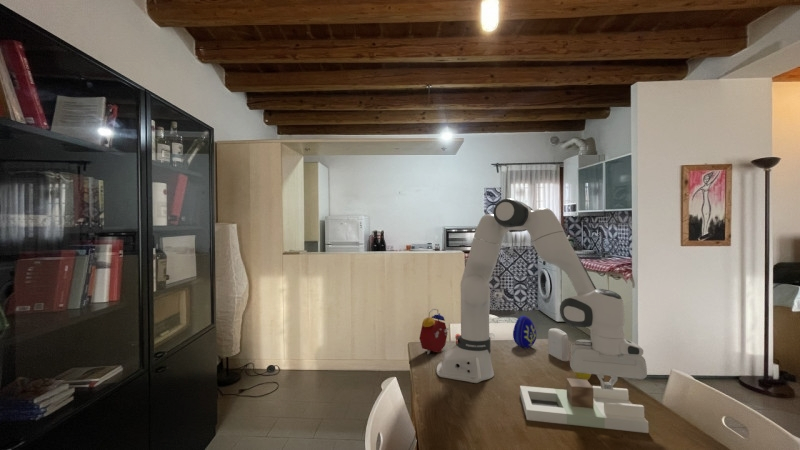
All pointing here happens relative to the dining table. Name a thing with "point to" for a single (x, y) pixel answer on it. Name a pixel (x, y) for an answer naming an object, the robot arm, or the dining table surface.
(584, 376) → the lemon
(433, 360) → the dining table surface
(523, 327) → the ornament
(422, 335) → the alarm clock
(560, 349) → the white rounded block
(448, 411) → the dining table surface
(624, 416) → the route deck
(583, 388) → the walnut block
